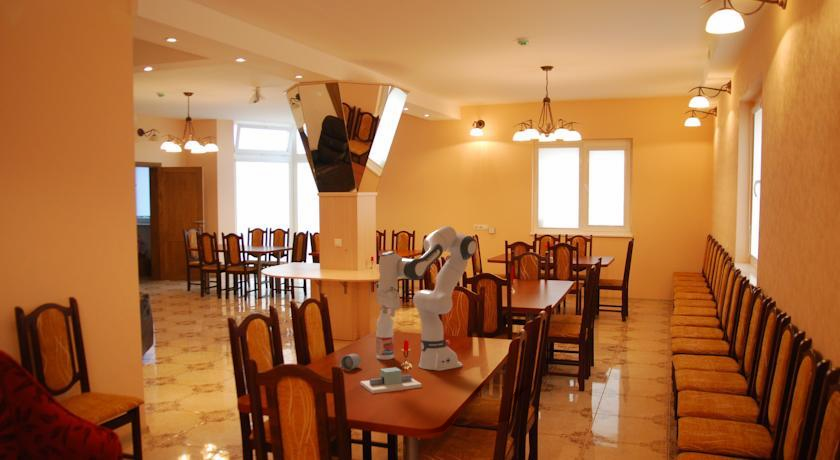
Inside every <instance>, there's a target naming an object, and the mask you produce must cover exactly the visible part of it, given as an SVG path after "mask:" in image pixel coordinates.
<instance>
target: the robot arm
mask: <svg viewBox="0 0 840 460" xmlns="http://www.w3.org/2000/svg"><path fill="white" fill-rule="evenodd" d="M422 244H423V250H424V251H425V253H424V254H423V255H422V256H421V257H419V258H407V257H403V256H401V255H399V254H398V253H397V252H396V251H385V252H383V253H381V254H380V256H379V261H378V272H379V278H378V282H377V283H375V288H376V301H377V303H378V304H380V305H381V306H380V307H382V313H383V314H387V310H386V306H388V307H389V308H390V312H389V314H390V317H391V318H393V317H395V316H396V315H395V312H396V311H397V309H399V308H400V307H401V301H400V299H401V298H400V293H399V291H398V284H399V283H398V281H399V279H398V278H403V279H408V280H410V281H411V280H412V281H418V280H420V279H422V278H423V276H424V275H425V273H426V272H427V271H428V269H429V268H431V266H432V265H433V264H434V263H435V262H436V261H438V260H439V258H441V256H442V255H443V253H444V252H447V253H450V255H449V257H448V258H447V260H446V261H445V263H444V264H443V266H441V269H440V270H439V272H438V273H437V275H436V276H435V282H436V284H435V287H434V289H433V290H431V289H421V290H418V291H416V292H415V294H414V295H413V298H412V301H413V305H414V307H416V310H417V312H418V316H419V319H420V323H421V325H420V326H421V340H420V350H421V353H420V359H419V362H418V367H419V368H420V369H423V370H430V371H431V370H432V371H433V370H434V371H445V370H446V371H447V370H451V369H456V368H462V367H463V363H462V362H461V361H459V360H458V355H457V353H456V352H455V351H454V350H452V349H451V348H450V347H449V346H447V345H450V344H451V341H450V339H445V338H444V324H443V322H442V320H441V319H440V316H439V315H444V314H445V315H446V314H448V313H450V312H451V310H452V308H453V299H452V297H453V292H454V290H455V287H456V286H457V285H458V283H459V281H460V280H461V279H462V277H463V275H464V273H465V271H466V269H467V267H468V264H469V260H470V259H471V258H472V256H474V254H475V253H476V251H477V248H478V241H477V240H476V239H475V238H474V237H472V236H470V235H467V234H464V233H462V232H457V231H456V230H455V228H453V227H452V226H450V225H443V226H442V227H439V228H437V229H436V230H434V231H433V232H431V233H429V234H428V235H427V236H426V237H425V238H424V240H423V243H422Z"/></svg>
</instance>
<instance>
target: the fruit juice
mask: <svg viewBox="0 0 840 460" xmlns="http://www.w3.org/2000/svg"><path fill="white" fill-rule="evenodd" d="M379 308H380V309H379V310H380V313H379V317H378V318H377V319H376V322H375V323H376V327H377V329H376V331H375V332H376V335H375V337H376V338H375V339H376V340H375V341H376V342H375V344H376V349H375V350H376V351H375V353H376V356H375V357H376V359H378V360H383V361H384V360H385V361H387V360H392V359H394V355H395V354H394V353H395V352H394V349H395V347H394V346H395V345H394V343H395V342H394V341H395V338H394V337H395V334H394V332H395V331H394V330H393V327H394V320H393V317H391V316H390V307H388V306H386V310H387V314H383V313H382V307H381V306H380V307H379Z"/></svg>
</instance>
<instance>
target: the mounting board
mask: <svg viewBox="0 0 840 460" xmlns="http://www.w3.org/2000/svg"><path fill="white" fill-rule="evenodd" d="M359 382H360V383H359V385H360V386H362V387H363V388H365V389H366V391H368V392H370V393H371V394H379V393H381V394H382V393H387V392H395V391H403V390H411V389H417V388H419V389H420V388H423V387H422V385H423V384H422V383H421V382H419V381H418V380H415V379H414V378H412V381H406V382H402V383H400V384H392V385H384V384H382V385H374V386H371V385H370V379H368V380H361V381H359Z"/></svg>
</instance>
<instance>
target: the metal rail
mask: <svg viewBox="0 0 840 460" xmlns="http://www.w3.org/2000/svg"><path fill="white" fill-rule="evenodd" d="M412 379H413V377H412V374H409V373H408V374H402V382H406V381H412ZM369 380H370V385H371V386H374V385H382V384H384V378H380V377H377V378H370V379H369Z"/></svg>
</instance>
